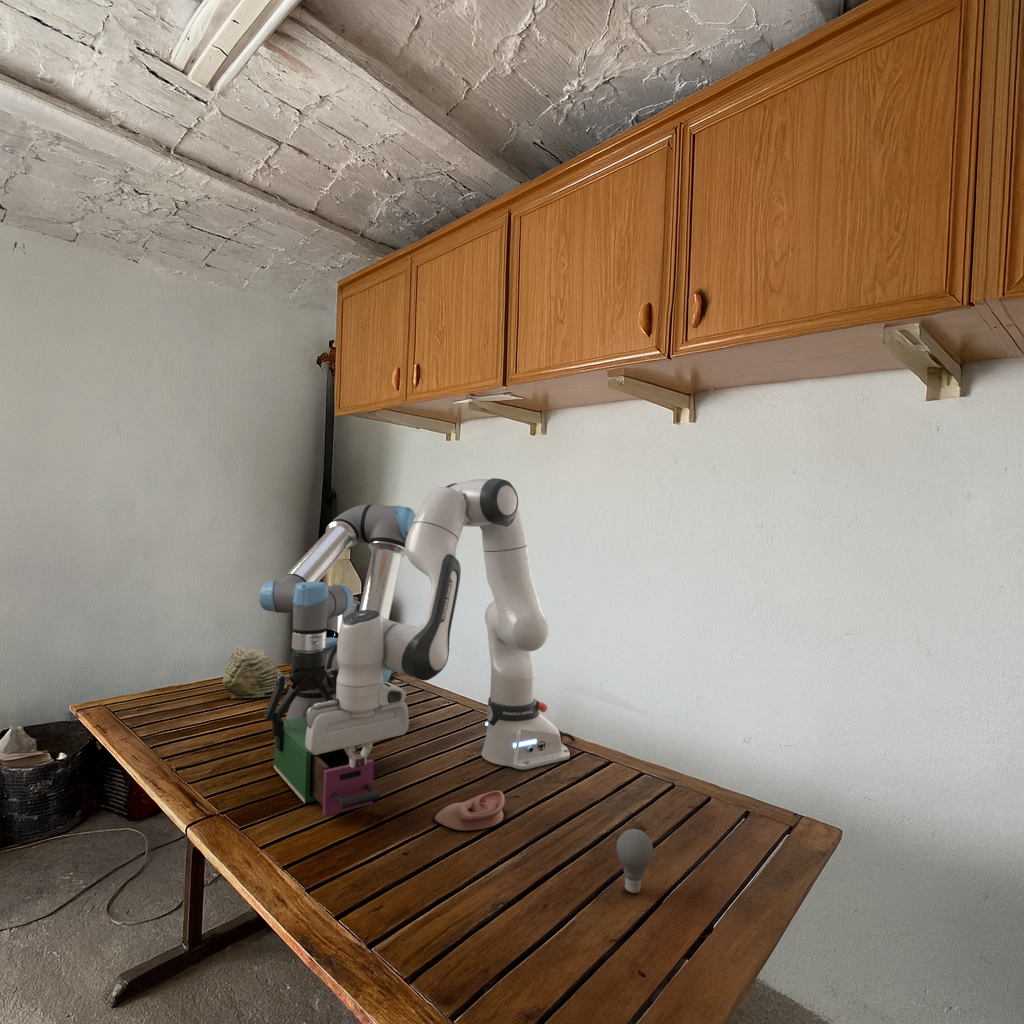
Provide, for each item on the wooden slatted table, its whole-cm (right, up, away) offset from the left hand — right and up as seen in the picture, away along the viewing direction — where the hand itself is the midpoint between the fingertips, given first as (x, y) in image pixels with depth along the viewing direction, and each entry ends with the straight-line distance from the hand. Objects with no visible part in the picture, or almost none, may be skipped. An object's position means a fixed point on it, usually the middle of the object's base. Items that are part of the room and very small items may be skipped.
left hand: (305, 744), depth 146 cm
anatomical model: (+39, -8, -19) cm, 44 cm away
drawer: (+11, -5, -15) cm, 19 cm away
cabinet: (+3, -6, -5) cm, 8 cm away
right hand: (+18, +4, -23) cm, 29 cm away
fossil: (-33, -4, +52) cm, 62 cm away
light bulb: (+68, -10, -40) cm, 80 cm away
